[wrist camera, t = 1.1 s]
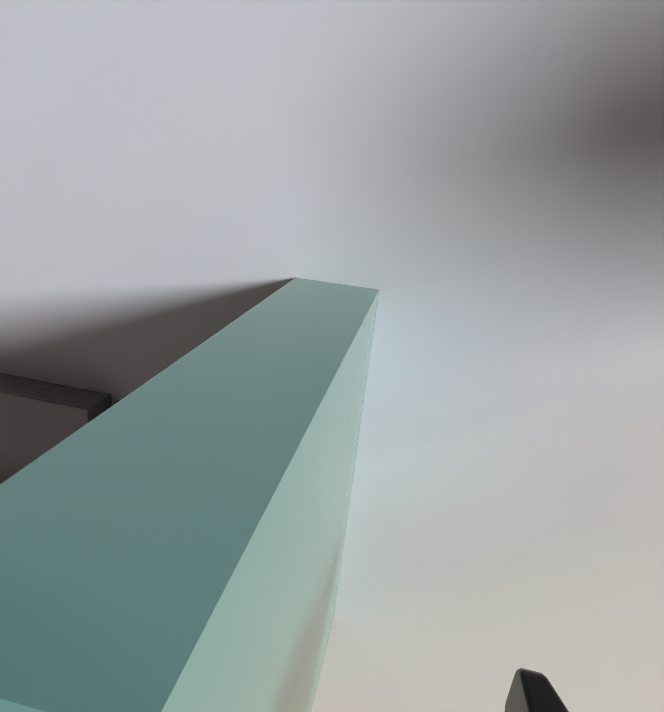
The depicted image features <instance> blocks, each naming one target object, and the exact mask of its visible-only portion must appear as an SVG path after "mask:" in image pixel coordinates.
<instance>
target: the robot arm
mask: <svg viewBox="0 0 664 712" xmlns="http://www.w3.org/2000/svg"><path fill="white" fill-rule="evenodd" d="M505 712H569V711H568V710H567V708H566V707H565V705H564V704H563V702H562V701H561V699H560V697H559V696H558V694H557V693H556V691H555V690H554V688H553V687H552V685H551V683H550V682H549V680H548V679H547V678H546V677H545V676H544V675H543V674H542V673H539V672H535V671H531V670H527V669H523V668H520V669H518V670H517V671H516V673H515V675H514V678H513V682H512V685H511V688H510V691H509V694H508V697H507V700H506V705H505Z"/></svg>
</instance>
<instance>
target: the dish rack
mask: <svg viewBox="0 0 664 712" xmlns="http://www.w3.org/2000/svg"><path fill="white" fill-rule="evenodd" d="M110 407H111V400H110V395H109V394H104V393H99V392H94V391H88V390H83V389H78V388H73V387H68V386H62V385H57V384H52V383H47V382H42V381H36V380H31V379H26V378H21V377H15V376H10V375H5V374H0V484H2V483H3V482H4V481H6V480H7V479H9V478H10V477H12V476H13V475H14V474H16V473H17V472H19V471H20V470H22V469H23V468H24V467H26V466H27V465H29V464H30V463H32V462H33V461H34V460H36V459H37V458H39V457H40V456H42V455H43V454H44V453H46V452H47V451H49V450H50V449H52V448H53V447H54V446H56V445H57V444H59V443H60V442H61V441H63V440H64V439H66V438H67V437H69V436H70V435H71V434H73V433H74V432H76V431H77V430H79V429H80V428H81V427H83V426H84V425H86V424H87V423H89V422H90V421H91V420H93V419H94V418H96V417H97V416H99V415H100V414H101V413H103V412H104V411H106V410H107V409H109V408H110Z"/></svg>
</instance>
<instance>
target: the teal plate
mask: <svg viewBox="0 0 664 712" xmlns="http://www.w3.org/2000/svg"><path fill="white" fill-rule="evenodd" d="M378 295H379V290H377V289H370V288H363V287H356V286H349V285H342V284H335V283H328V282H321V281H315V280H308V279H301V278H294V279H293V280H291V281H290V282H288V283H287V284H286V285H284V286H283V287H281V288H280V289H278V290H277V291H276V292H274V293H273V294H271V295H270V296H268V297H267V298H266V299H264V300H263V301H261V302H260V303H258V304H257V305H256V306H254V307H253V308H251V309H250V310H248V311H247V312H246V313H244V314H243V315H241V316H240V317H239V318H237V319H236V320H234V321H233V322H231V323H230V324H229V325H227V326H226V327H224V328H223V329H221V330H220V331H219V332H217V333H216V334H214V335H213V336H211V337H210V338H209V339H207V340H206V341H204V342H203V343H201V344H200V345H199V346H197V347H196V348H194V349H193V350H191V351H190V352H189V353H187V354H186V355H184V356H183V357H181V358H180V359H179V360H177V361H176V362H174V363H173V364H171V365H170V366H169V367H167V368H166V369H164V370H163V371H161V372H160V373H159V374H157V375H156V376H154V377H153V378H151V379H150V380H149V381H147V382H146V383H144V384H143V385H141V386H140V387H139V388H137V389H136V390H134V391H133V392H131V393H130V394H129V395H127V396H126V397H124V398H123V399H121V400H120V401H119V402H117V403H116V404H114V405H113V406H111V407H110V408H109V409H107V410H106V411H104V412H103V413H101V414H100V415H99V416H97V417H96V418H94V419H93V420H91V421H90V422H89V423H87V424H86V425H84V426H83V427H81V428H80V429H79V430H77V431H76V432H74V433H73V434H71V435H70V436H69V437H67V438H66V439H64V440H63V441H61V442H60V443H59V444H57V445H56V446H54V447H53V448H52V449H50V450H49V451H47V452H46V453H44V454H43V455H42V456H40V457H39V458H37V459H36V460H34V461H33V462H32V463H30V464H29V465H27V466H26V467H24V468H23V469H22V470H20V471H19V472H17V473H16V474H14V475H13V476H12V477H10V478H9V479H7V480H6V481H4V482H3V483H2V484H0V712H311V710H312V706H313V702H314V698H315V693H316V689H317V685H318V681H319V676H320V672H321V668H322V664H323V659H324V655H325V651H326V647H327V642H328V638H329V634H330V630H331V625H332V621H333V617H334V611H335V604H336V597H337V589H338V582H339V575H340V568H341V561H342V553H343V546H344V539H345V532H346V525H347V518H348V510H349V503H350V496H351V489H352V482H353V474H354V467H355V460H356V453H357V446H358V439H359V431H360V424H361V417H362V410H363V403H364V395H365V388H366V381H367V374H368V367H369V359H370V352H371V345H372V338H373V331H374V324H375V316H376V309H377V302H378Z"/></svg>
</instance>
